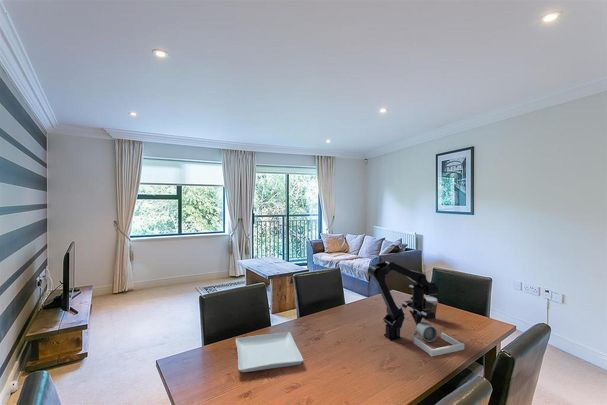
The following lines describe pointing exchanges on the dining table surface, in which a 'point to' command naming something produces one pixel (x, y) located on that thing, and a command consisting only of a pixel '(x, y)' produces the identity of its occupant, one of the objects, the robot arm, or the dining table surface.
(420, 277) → the robot arm
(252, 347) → the square plate
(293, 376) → the dining table surface
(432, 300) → the disposable coffee cup
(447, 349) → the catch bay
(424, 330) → the ceramic mug
